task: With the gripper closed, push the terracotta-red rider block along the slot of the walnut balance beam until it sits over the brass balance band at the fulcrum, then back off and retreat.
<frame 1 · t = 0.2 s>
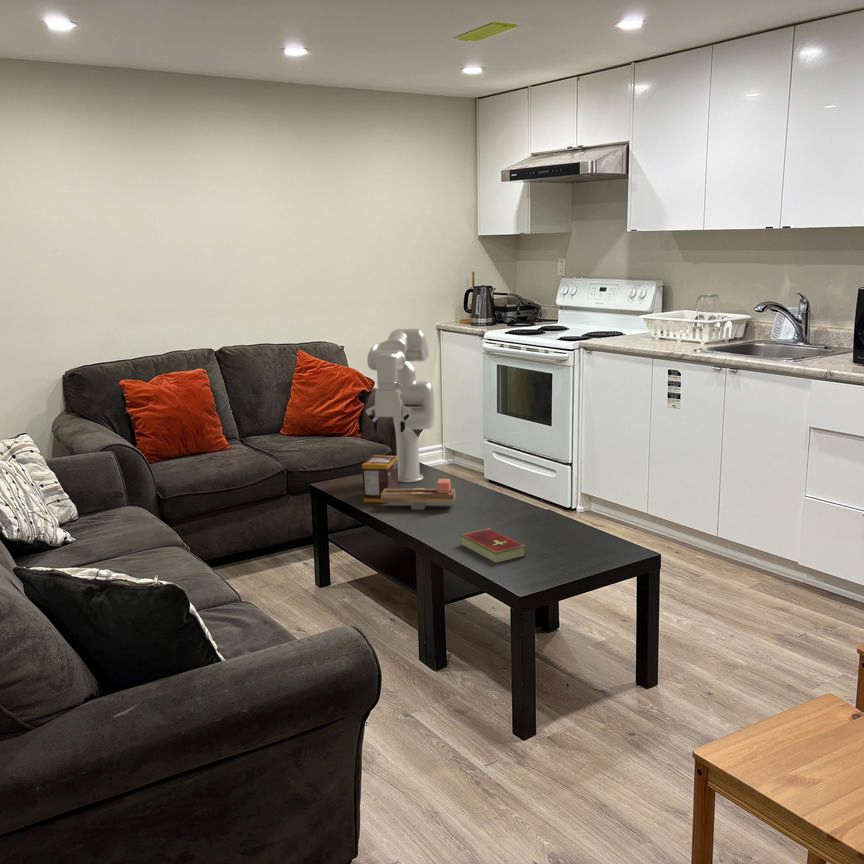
hand: (389, 431, 321), 31 cm above the table, fingers open, 9 cm apart
supplement box: (381, 497, 346), on the table
beam: (418, 506, 332), on the table
hardcover book: (492, 551, 283), on the table
rider: (444, 488, 329), point 8 cm above the table, slide at 10.0 cm
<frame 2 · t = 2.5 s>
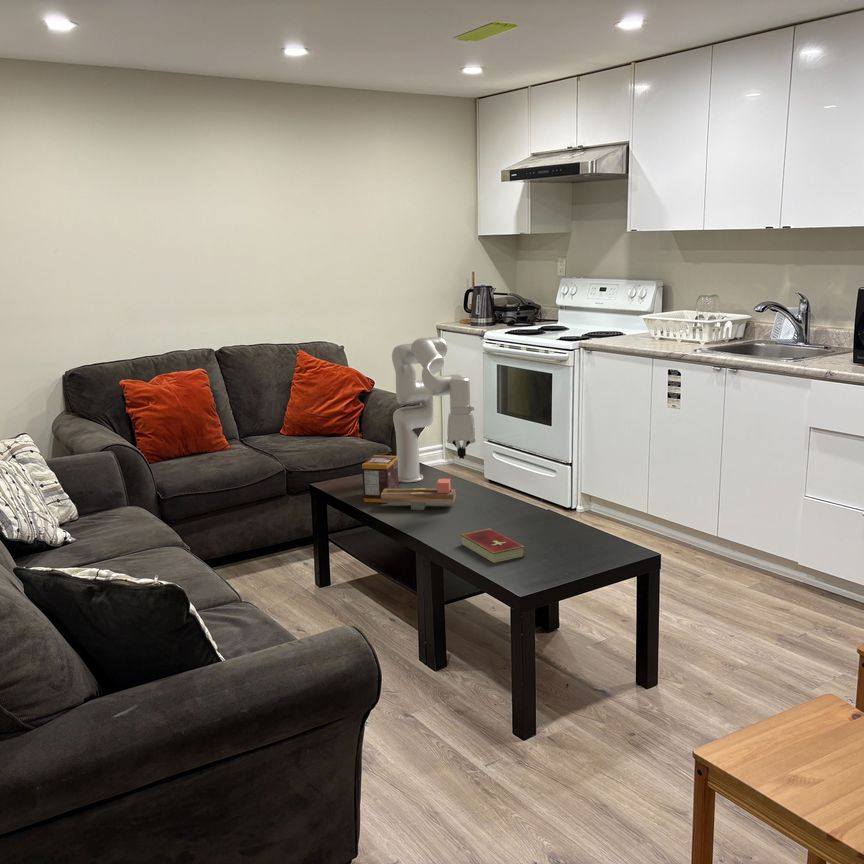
hand: (461, 457, 325), 20 cm above the table, fingers closed
nothing on the table moved.
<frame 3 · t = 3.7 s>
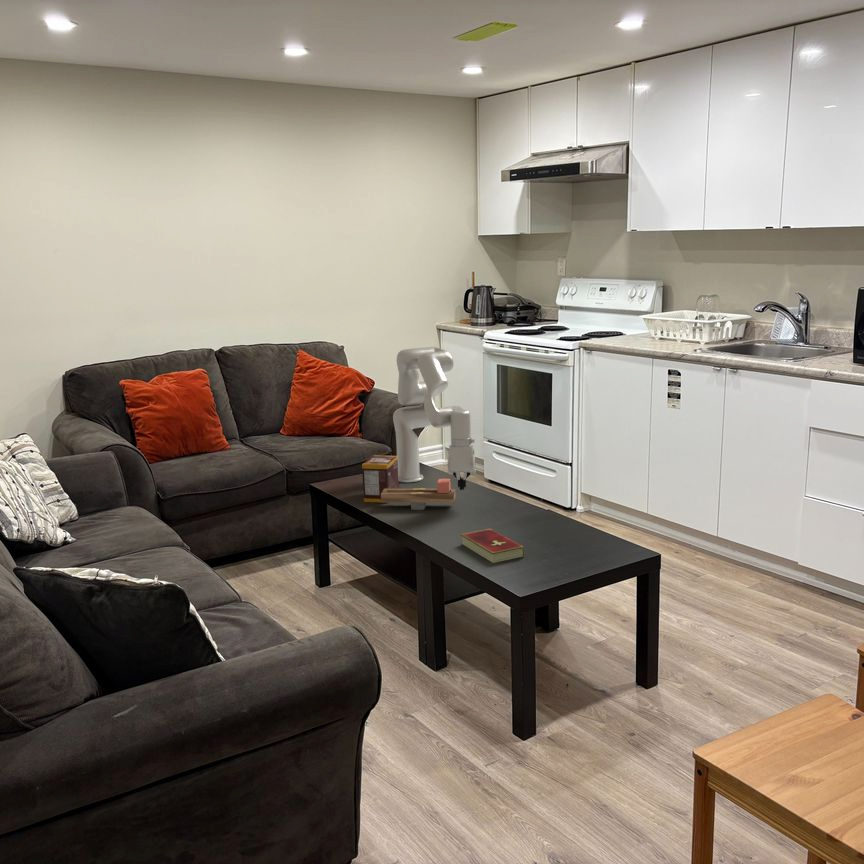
hand: (462, 488, 328), 7 cm above the table, fingers closed
nothing on the table moved.
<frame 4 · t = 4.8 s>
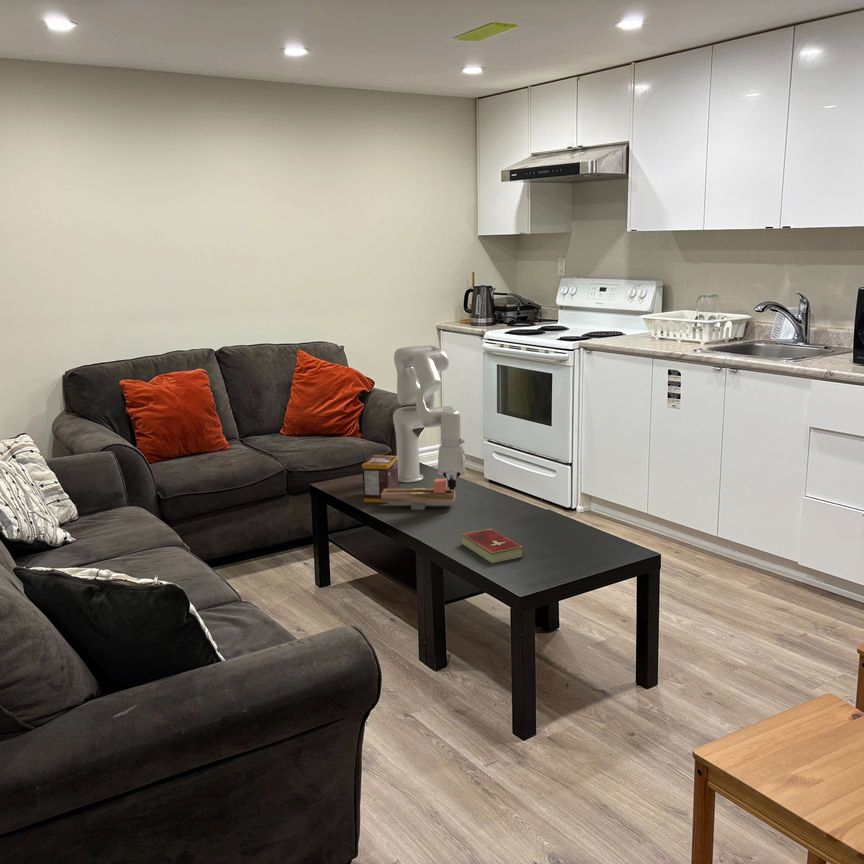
hand: (452, 489, 328), 7 cm above the table, fingers closed
rider: (440, 488, 329), point 8 cm above the table, slide at 8.6 cm, touching gripper
everything else where it was.
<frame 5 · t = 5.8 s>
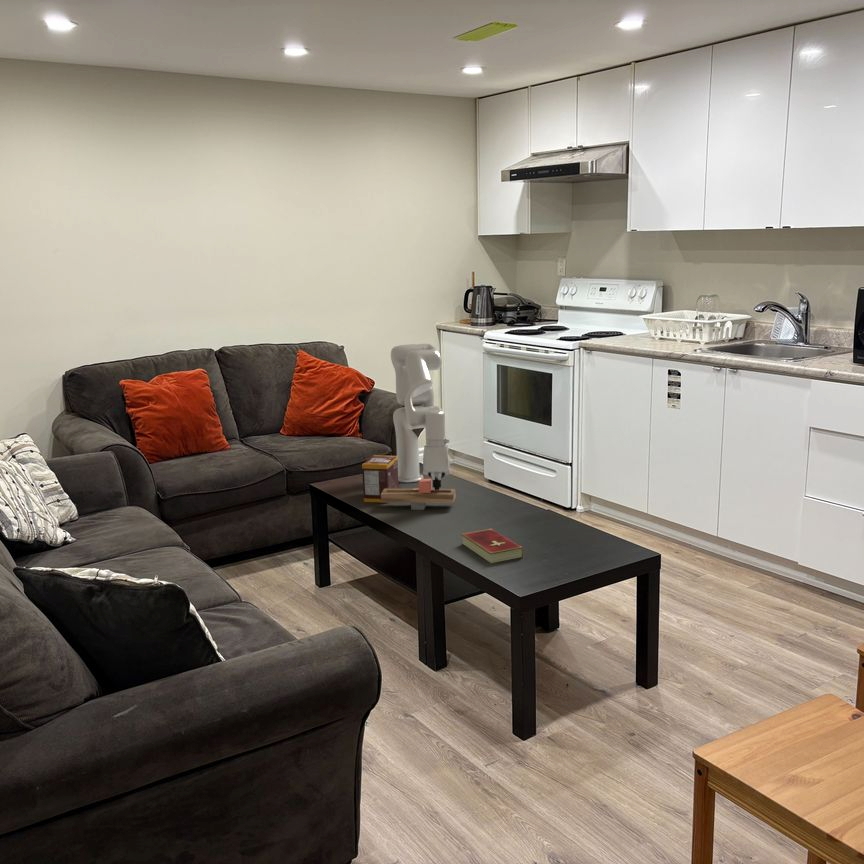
hand: (437, 489, 329), 7 cm above the table, fingers closed
rider: (425, 488, 330), point 8 cm above the table, slide at 2.8 cm, touching gripper
everything else where it was.
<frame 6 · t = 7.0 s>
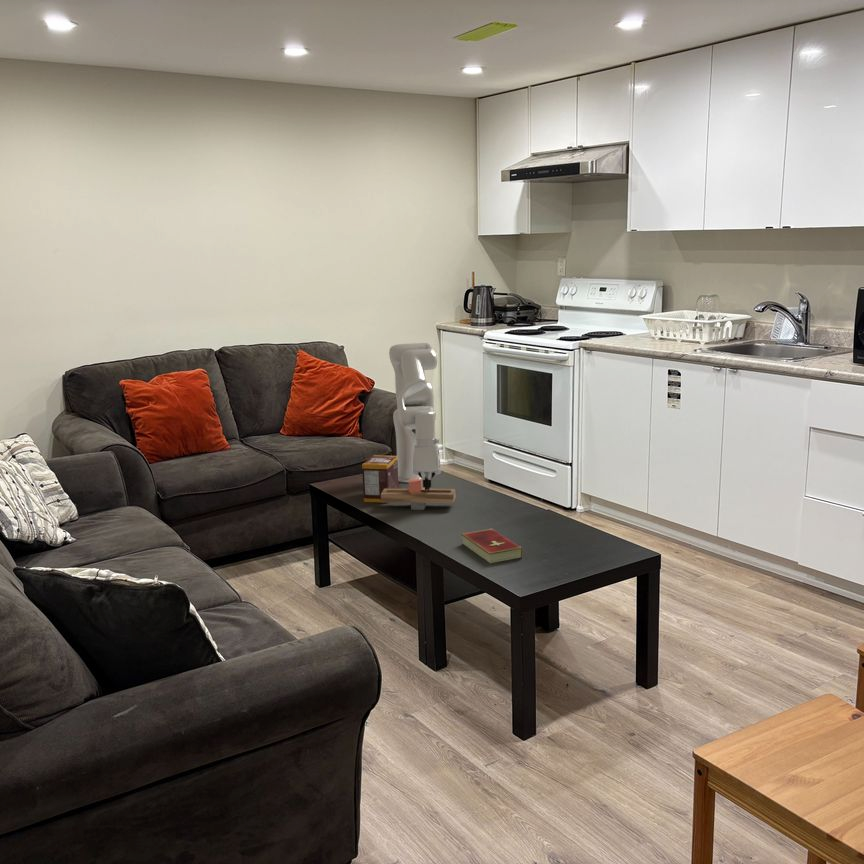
hand: (427, 488, 330), 7 cm above the table, fingers closed
rider: (415, 488, 330), point 8 cm above the table, slide at -1.0 cm, touching gripper
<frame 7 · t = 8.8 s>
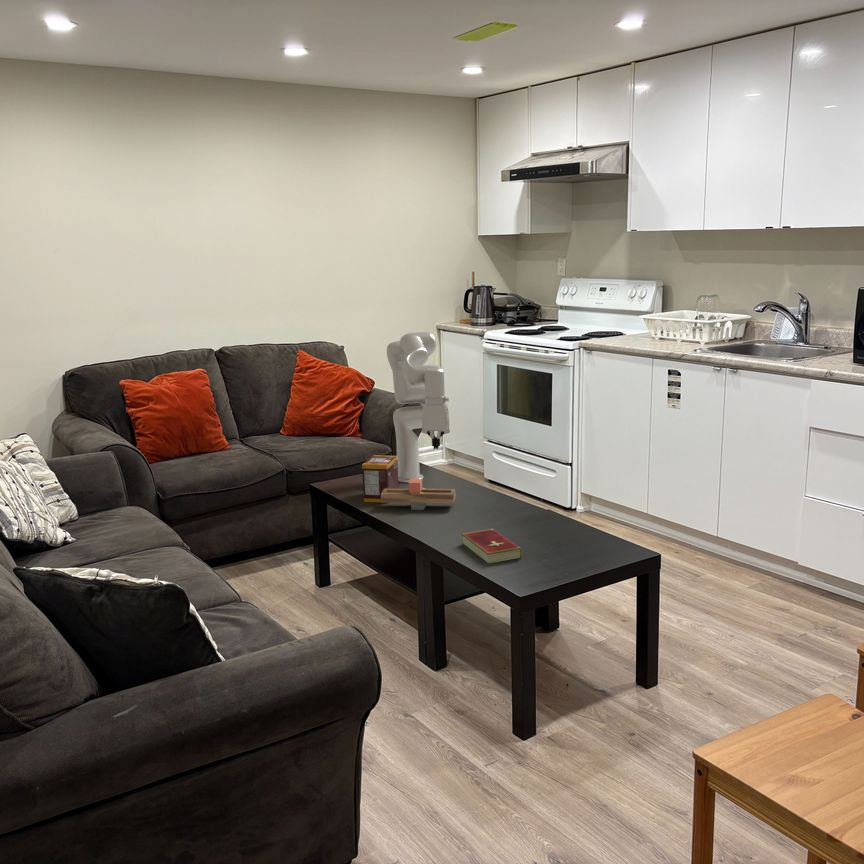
hand: (436, 448, 327), 23 cm above the table, fingers closed
rider: (415, 488, 330), point 8 cm above the table, slide at -1.0 cm
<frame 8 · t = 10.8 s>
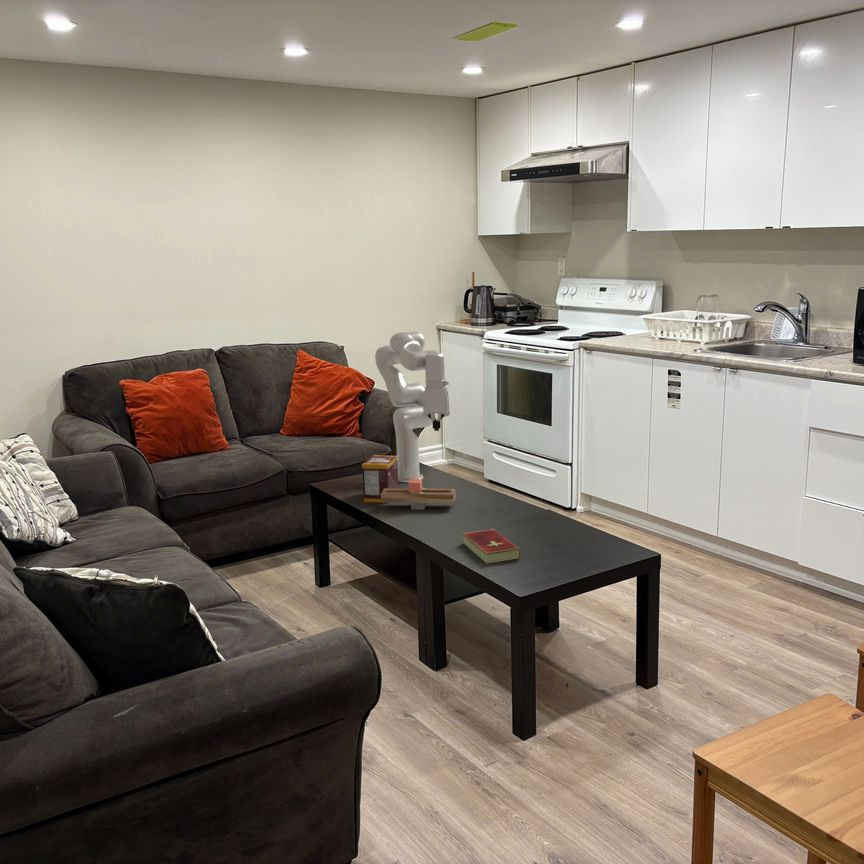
hand: (436, 430, 340), 27 cm above the table, fingers closed
at the end: rider slide at -1.0 cm; rider 1.0 cm from the target spot, resting on beam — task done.
